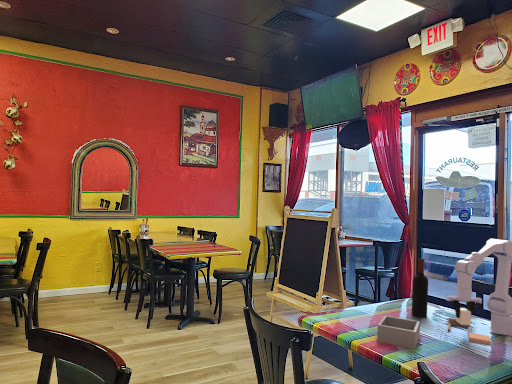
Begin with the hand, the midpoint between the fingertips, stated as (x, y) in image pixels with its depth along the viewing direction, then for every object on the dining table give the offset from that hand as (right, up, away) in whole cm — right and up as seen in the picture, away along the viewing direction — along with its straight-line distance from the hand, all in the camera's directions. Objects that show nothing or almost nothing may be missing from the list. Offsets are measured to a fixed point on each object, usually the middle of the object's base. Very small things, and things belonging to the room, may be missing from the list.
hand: (463, 317), depth 178 cm
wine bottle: (-7, -9, +32) cm, 34 cm away
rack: (+4, -9, +12) cm, 16 cm away
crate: (-31, -7, -7) cm, 33 cm away
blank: (0, -2, 0) cm, 2 cm away
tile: (+6, -9, -3) cm, 11 cm away
